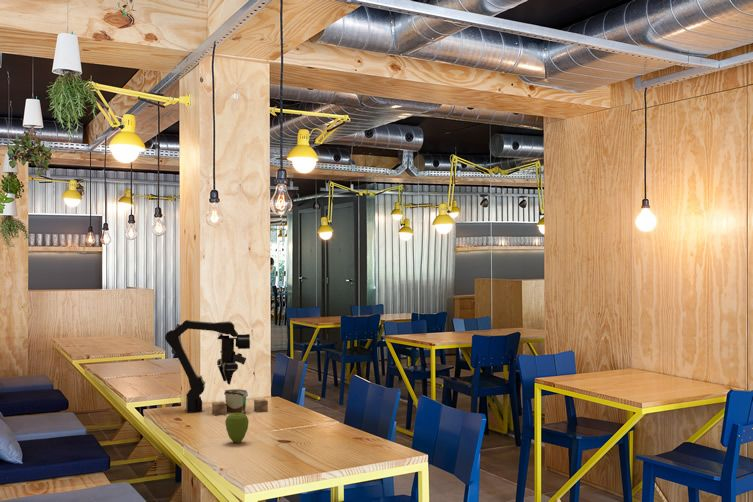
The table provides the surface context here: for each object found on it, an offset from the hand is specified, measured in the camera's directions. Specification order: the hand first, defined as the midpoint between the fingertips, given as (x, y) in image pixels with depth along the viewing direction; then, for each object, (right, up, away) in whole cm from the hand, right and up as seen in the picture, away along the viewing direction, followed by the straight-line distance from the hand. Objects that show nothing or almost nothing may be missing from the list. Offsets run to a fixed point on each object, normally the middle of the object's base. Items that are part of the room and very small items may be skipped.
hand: (226, 382), depth 331 cm
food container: (+7, -13, -6) cm, 16 cm away
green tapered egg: (+17, -11, -63) cm, 66 cm away
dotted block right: (+16, -13, -3) cm, 21 cm away
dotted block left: (-1, -12, -10) cm, 16 cm away
